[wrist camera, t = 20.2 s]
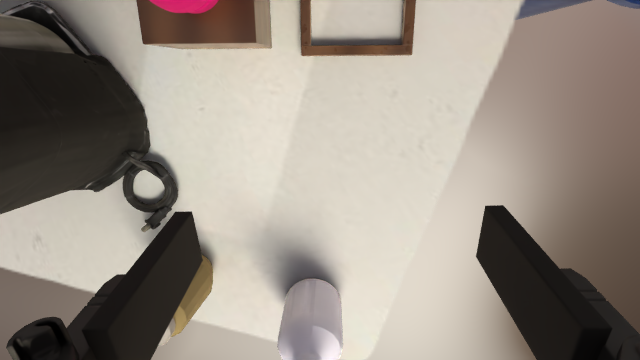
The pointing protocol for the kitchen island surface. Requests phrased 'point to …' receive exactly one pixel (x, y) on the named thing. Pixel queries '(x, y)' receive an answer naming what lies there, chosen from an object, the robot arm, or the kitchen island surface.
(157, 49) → the kitchen island surface
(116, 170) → the coffee maker
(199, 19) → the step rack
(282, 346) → the soap bottle
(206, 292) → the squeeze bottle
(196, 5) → the pepper mill
